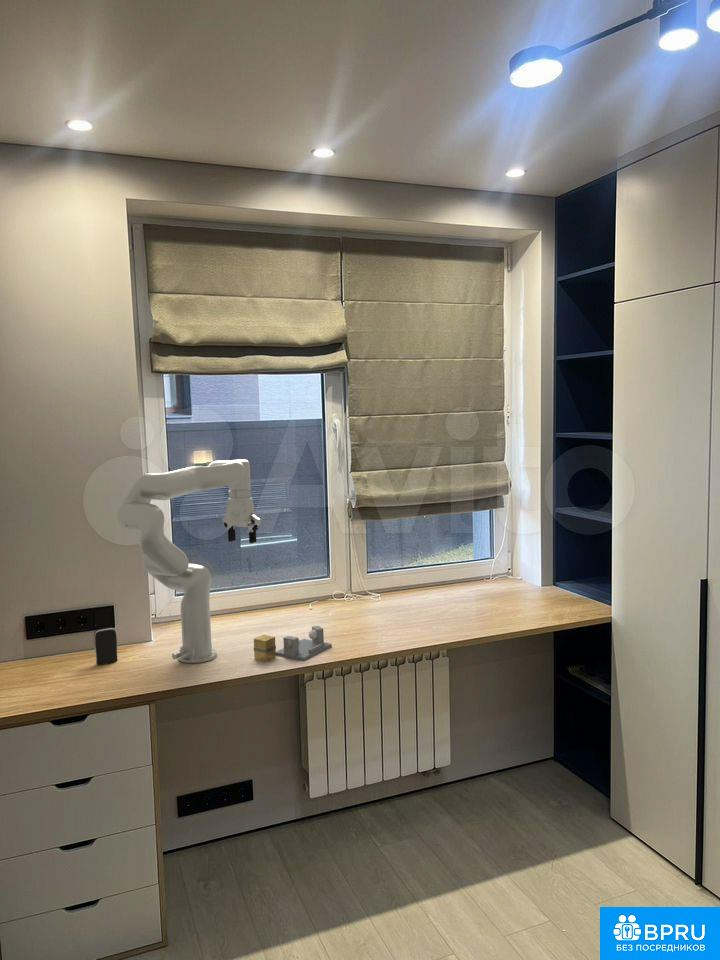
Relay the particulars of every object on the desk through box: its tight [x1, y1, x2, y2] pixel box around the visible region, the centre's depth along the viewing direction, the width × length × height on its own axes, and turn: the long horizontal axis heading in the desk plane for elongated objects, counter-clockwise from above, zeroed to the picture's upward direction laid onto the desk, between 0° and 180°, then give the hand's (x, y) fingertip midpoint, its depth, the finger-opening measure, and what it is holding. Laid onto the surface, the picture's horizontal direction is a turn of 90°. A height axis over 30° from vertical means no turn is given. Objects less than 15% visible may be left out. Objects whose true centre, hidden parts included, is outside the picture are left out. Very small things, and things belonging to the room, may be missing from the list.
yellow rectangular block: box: [253, 634, 277, 663], centre depth 235 cm, size 5×5×7 cm
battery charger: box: [93, 627, 118, 666], centre depth 235 cm, size 7×4×11 cm, turn 123°
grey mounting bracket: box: [276, 625, 333, 661], centre depth 241 cm, size 16×12×6 cm
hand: (242, 541), depth 253 cm, fingers open, 9 cm apart
